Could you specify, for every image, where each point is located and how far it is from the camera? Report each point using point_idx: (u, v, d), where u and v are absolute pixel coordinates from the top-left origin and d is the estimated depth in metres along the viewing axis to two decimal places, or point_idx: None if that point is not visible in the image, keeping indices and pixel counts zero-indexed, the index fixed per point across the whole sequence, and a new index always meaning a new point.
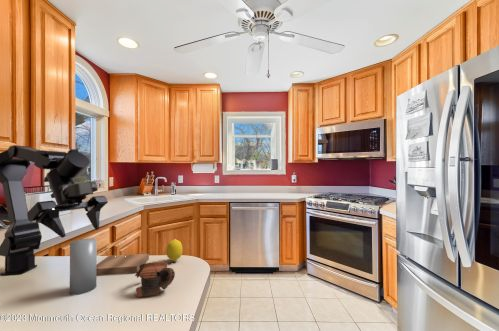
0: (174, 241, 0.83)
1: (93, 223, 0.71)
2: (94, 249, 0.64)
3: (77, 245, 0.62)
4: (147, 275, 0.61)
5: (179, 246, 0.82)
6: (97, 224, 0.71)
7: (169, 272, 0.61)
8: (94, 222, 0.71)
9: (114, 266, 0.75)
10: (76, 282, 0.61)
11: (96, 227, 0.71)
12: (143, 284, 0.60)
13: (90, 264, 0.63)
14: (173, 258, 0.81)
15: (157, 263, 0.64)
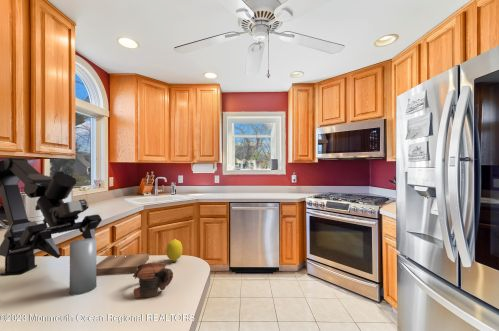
0: (174, 241, 0.83)
1: None
2: (94, 249, 0.64)
3: (77, 245, 0.62)
4: (145, 276, 0.60)
5: (179, 246, 0.82)
6: None
7: (167, 273, 0.61)
8: None
9: (114, 266, 0.75)
10: (76, 282, 0.61)
11: None
12: (141, 285, 0.59)
13: (90, 264, 0.63)
14: (173, 258, 0.81)
15: (155, 264, 0.63)
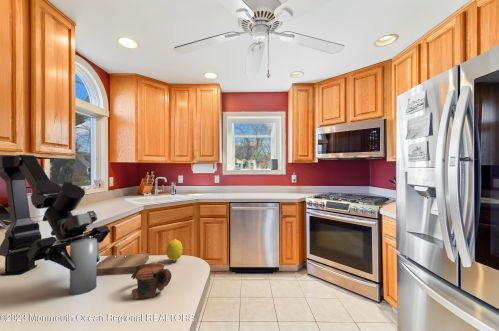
0: (174, 241, 0.83)
1: None
2: (94, 249, 0.64)
3: (77, 245, 0.62)
4: (143, 277, 0.60)
5: (179, 246, 0.82)
6: (97, 256, 0.67)
7: (166, 273, 0.60)
8: None
9: (114, 266, 0.75)
10: (76, 282, 0.61)
11: None
12: (139, 285, 0.59)
13: (90, 264, 0.63)
14: (173, 258, 0.81)
15: (153, 264, 0.63)
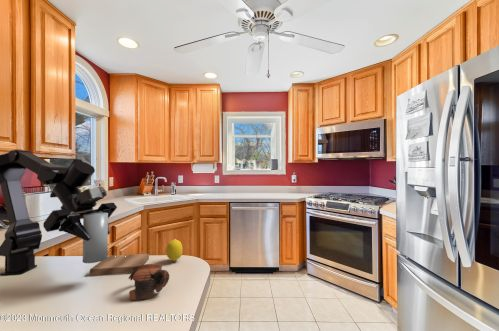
0: (174, 241, 0.83)
1: None
2: (106, 221, 0.68)
3: (91, 216, 0.65)
4: (141, 278, 0.59)
5: (179, 246, 0.82)
6: None
7: (163, 274, 0.60)
8: None
9: (114, 266, 0.75)
10: (90, 251, 0.65)
11: None
12: (136, 286, 0.58)
13: (103, 235, 0.67)
14: (173, 258, 0.81)
15: (151, 265, 0.62)
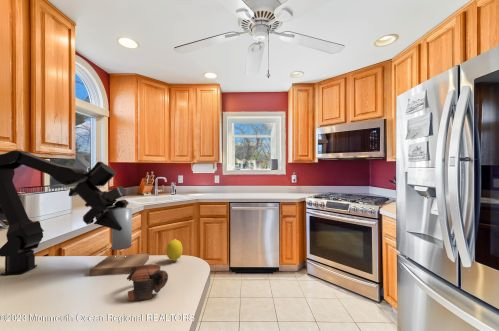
0: (174, 241, 0.83)
1: None
2: (131, 214, 0.81)
3: (123, 210, 0.78)
4: (139, 278, 0.59)
5: (179, 246, 0.82)
6: None
7: (162, 275, 0.60)
8: None
9: (114, 266, 0.75)
10: (122, 239, 0.77)
11: None
12: (135, 287, 0.58)
13: (130, 226, 0.80)
14: (173, 258, 0.81)
15: (150, 266, 0.62)
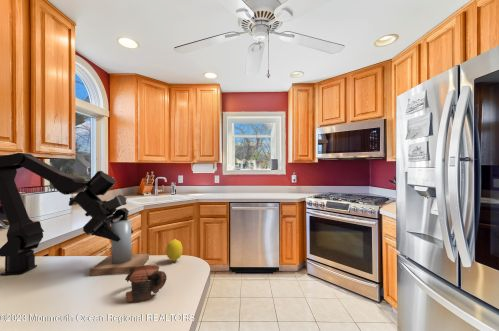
0: (174, 241, 0.83)
1: None
2: None
3: (122, 224, 0.77)
4: (137, 279, 0.58)
5: (179, 246, 0.82)
6: (131, 229, 0.84)
7: (161, 275, 0.59)
8: None
9: (114, 266, 0.75)
10: (121, 253, 0.77)
11: None
12: (133, 288, 0.57)
13: (130, 239, 0.80)
14: (173, 258, 0.81)
15: (148, 266, 0.62)
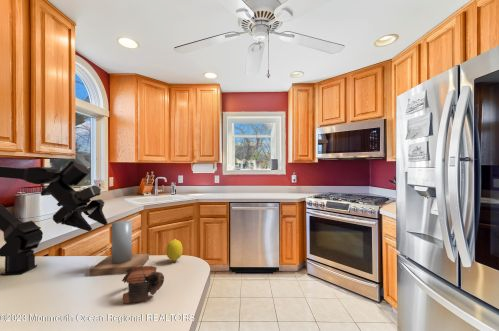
0: (174, 241, 0.83)
1: (100, 221, 0.84)
2: (131, 228, 0.81)
3: (123, 224, 0.78)
4: (135, 280, 0.58)
5: (179, 246, 0.82)
6: (105, 220, 0.84)
7: (158, 277, 0.59)
8: (101, 220, 0.84)
9: (114, 266, 0.75)
10: (122, 253, 0.77)
11: (105, 223, 0.84)
12: (130, 289, 0.57)
13: (130, 239, 0.80)
14: (173, 258, 0.81)
15: (145, 267, 0.61)
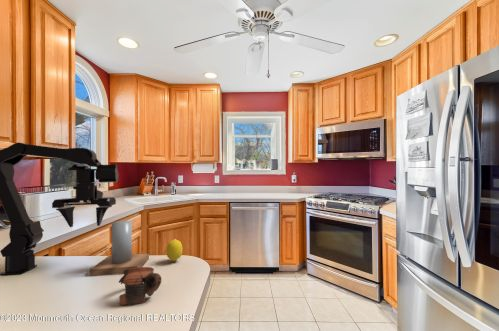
0: (174, 241, 0.83)
1: (70, 220, 0.83)
2: (131, 228, 0.81)
3: (122, 224, 0.78)
4: (131, 281, 0.57)
5: (179, 246, 0.82)
6: None
7: (155, 278, 0.58)
8: (71, 220, 0.84)
9: (114, 266, 0.75)
10: (122, 253, 0.77)
11: (72, 225, 0.84)
12: (127, 291, 0.56)
13: (130, 239, 0.80)
14: (173, 258, 0.81)
15: (142, 268, 0.60)
